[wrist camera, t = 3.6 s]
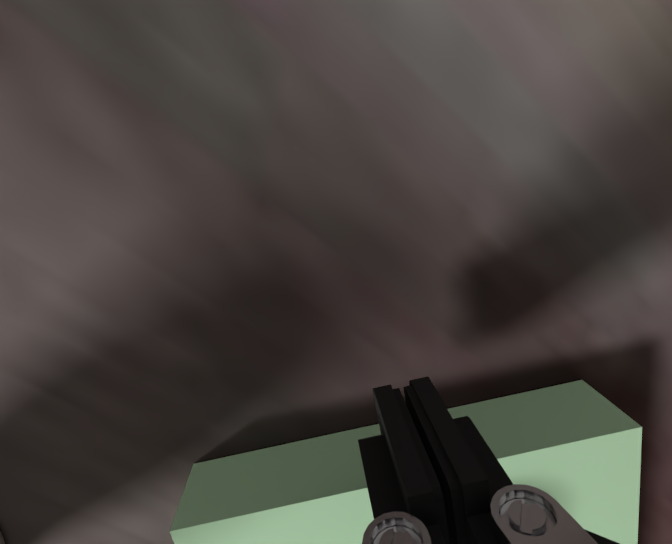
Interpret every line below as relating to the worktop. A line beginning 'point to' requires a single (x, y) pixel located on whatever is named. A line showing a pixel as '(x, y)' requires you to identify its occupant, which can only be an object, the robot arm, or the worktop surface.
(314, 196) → the worktop surface
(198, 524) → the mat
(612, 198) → the worktop surface
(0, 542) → the beer glass
